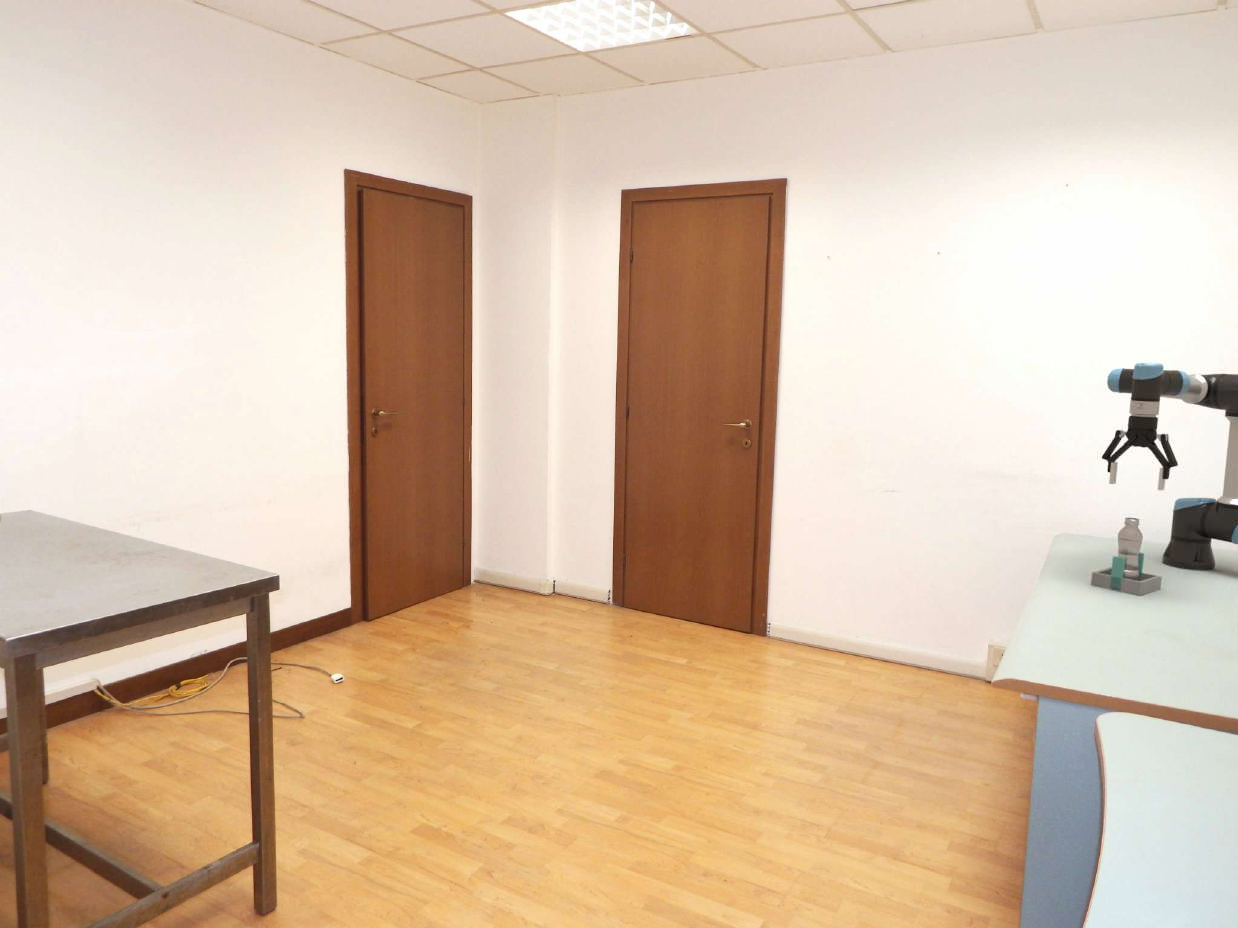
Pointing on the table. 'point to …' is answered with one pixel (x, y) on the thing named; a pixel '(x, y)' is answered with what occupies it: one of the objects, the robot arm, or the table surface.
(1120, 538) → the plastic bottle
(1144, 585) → the tray
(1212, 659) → the table surface
